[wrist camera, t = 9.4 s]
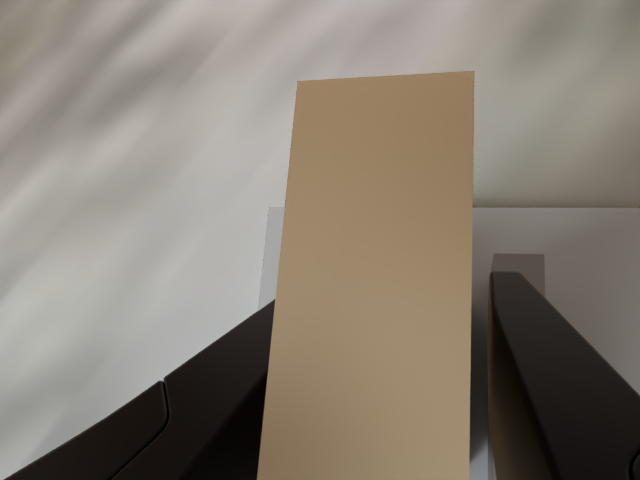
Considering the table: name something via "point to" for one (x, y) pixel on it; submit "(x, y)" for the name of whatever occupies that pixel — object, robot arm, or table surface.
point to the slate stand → (538, 287)
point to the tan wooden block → (374, 284)
